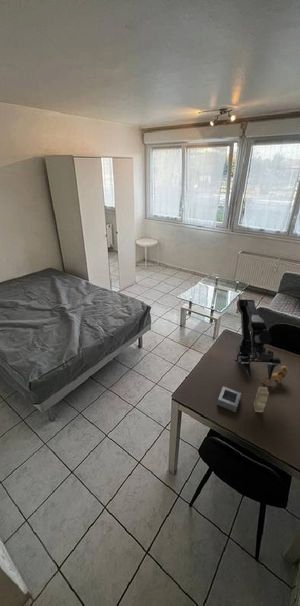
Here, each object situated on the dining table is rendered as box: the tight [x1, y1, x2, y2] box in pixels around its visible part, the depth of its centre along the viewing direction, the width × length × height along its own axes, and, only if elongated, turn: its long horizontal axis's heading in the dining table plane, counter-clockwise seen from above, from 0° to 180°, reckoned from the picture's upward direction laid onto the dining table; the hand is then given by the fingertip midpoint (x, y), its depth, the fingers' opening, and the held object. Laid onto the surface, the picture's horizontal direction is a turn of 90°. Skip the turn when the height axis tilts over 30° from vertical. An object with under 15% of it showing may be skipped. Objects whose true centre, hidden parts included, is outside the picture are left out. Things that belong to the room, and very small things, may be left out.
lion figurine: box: [262, 365, 289, 387], centre depth 134 cm, size 15×5×9 cm, turn 116°
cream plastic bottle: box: [253, 386, 270, 413], centre depth 119 cm, size 4×4×13 cm
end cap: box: [216, 386, 242, 413], centre depth 125 cm, size 9×9×4 cm
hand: (259, 378), depth 123 cm, fingers open, 9 cm apart
